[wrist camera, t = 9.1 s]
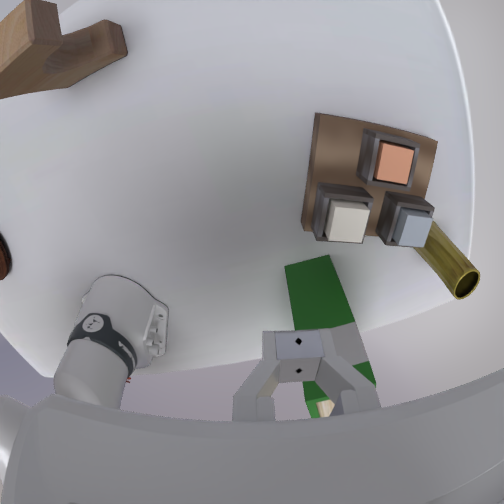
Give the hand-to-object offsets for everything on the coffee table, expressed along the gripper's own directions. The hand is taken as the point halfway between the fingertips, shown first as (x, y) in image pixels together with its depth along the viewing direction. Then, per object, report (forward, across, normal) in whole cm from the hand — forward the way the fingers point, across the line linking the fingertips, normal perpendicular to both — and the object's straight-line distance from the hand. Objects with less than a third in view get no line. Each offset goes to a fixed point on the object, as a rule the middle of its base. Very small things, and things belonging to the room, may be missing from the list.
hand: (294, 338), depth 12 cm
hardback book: (+29, -9, +24) cm, 39 cm away
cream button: (+24, -10, +5) cm, 26 cm away
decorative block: (+29, +24, -19) cm, 42 cm away
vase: (+29, -28, +11) cm, 42 cm away
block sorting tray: (+29, -15, +1) cm, 33 cm away
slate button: (+24, -20, +6) cm, 31 cm away
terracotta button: (+25, -15, -3) cm, 29 cm away
